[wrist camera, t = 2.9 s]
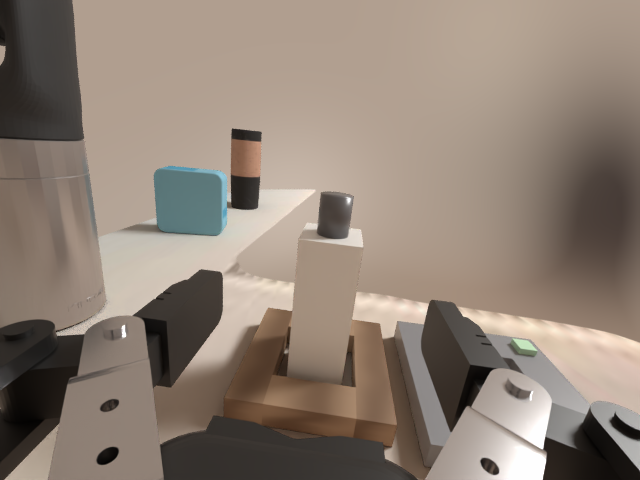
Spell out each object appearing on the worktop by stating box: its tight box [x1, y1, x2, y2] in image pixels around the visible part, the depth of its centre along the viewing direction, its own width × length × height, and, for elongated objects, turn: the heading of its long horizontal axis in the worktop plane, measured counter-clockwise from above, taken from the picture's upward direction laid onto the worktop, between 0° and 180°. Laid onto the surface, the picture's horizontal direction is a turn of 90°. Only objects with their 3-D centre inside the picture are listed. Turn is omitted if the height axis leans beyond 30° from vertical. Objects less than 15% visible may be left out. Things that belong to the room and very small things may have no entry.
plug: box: [287, 192, 363, 385], centre depth 24 cm, size 4×4×16 cm
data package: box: [154, 166, 227, 235], centre depth 58 cm, size 12×4×12 cm, turn 95°
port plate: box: [394, 321, 591, 468], centre depth 26 cm, size 14×14×3 cm
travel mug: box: [231, 129, 262, 210], centre depth 80 cm, size 8×8×20 cm
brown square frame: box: [224, 308, 397, 447], centre depth 27 cm, size 12×12×2 cm
